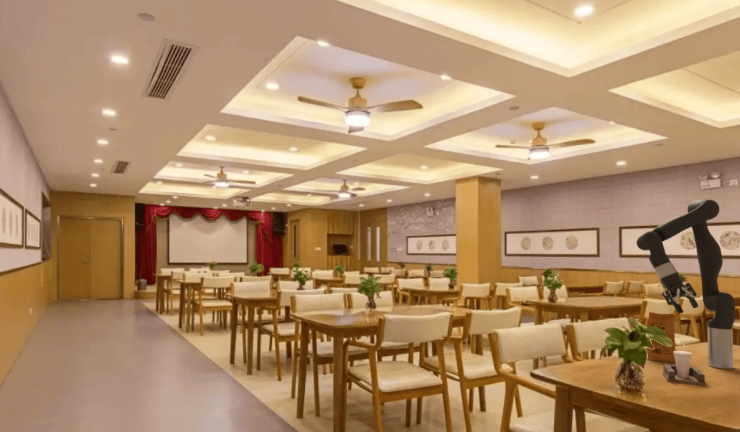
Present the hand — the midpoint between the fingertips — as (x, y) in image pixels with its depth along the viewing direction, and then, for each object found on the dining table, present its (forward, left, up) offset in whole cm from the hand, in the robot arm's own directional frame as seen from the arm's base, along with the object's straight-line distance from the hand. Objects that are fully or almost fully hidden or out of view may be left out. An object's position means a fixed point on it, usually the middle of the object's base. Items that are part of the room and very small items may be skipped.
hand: (688, 310), depth 211 cm
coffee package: (-26, -7, -27) cm, 38 cm away
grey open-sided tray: (+9, -4, -27) cm, 29 cm away
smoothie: (+9, -4, -26) cm, 28 cm away
